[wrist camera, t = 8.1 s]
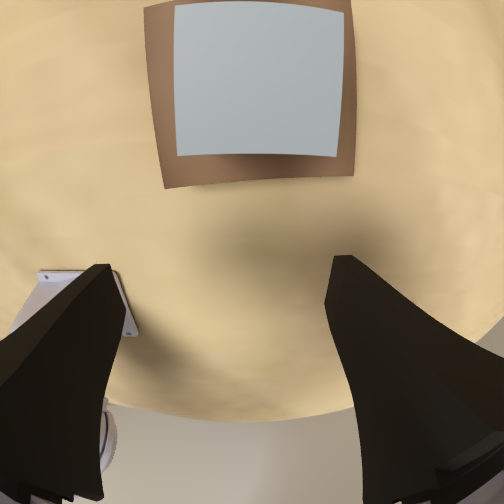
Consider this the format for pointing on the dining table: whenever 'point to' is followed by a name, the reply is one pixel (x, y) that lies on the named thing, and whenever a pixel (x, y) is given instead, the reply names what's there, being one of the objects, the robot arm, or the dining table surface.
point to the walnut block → (239, 165)
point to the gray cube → (257, 78)
